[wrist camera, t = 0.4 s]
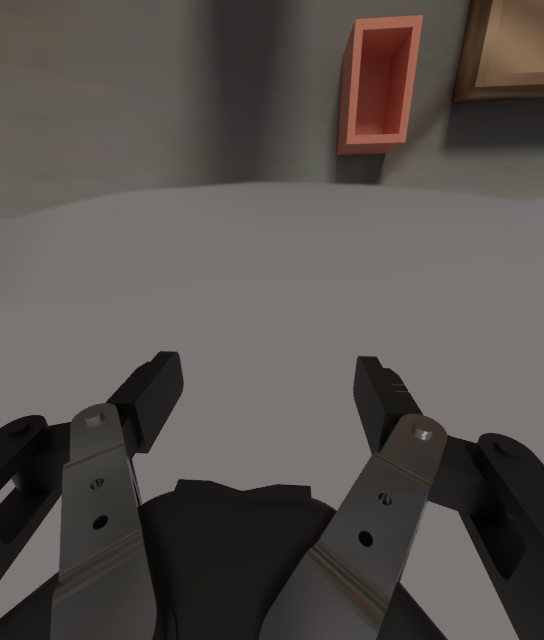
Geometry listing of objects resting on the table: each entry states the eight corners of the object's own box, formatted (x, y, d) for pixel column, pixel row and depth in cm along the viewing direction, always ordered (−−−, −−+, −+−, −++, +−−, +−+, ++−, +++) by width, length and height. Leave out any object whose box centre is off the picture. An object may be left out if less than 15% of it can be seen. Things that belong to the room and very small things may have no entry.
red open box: (343, 55, 29) (355, 19, 23) (397, 52, 28) (423, 14, 23) (336, 155, 32) (346, 144, 27) (385, 153, 32) (405, 142, 26)
